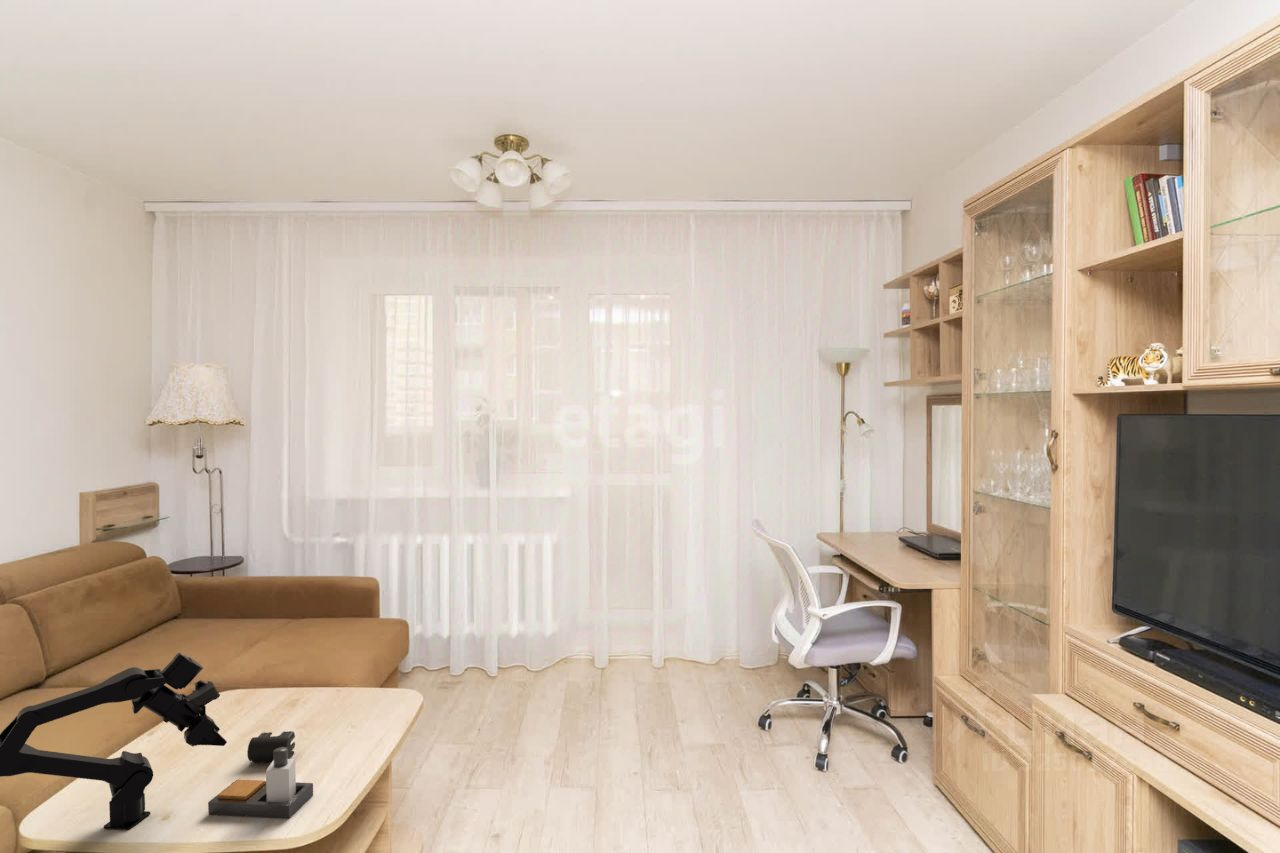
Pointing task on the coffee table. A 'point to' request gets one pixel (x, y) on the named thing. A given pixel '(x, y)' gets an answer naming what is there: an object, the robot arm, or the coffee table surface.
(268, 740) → the end cap
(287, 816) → the two-compartment sponge tray
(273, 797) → the white soap bottle
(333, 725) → the coffee table surface
